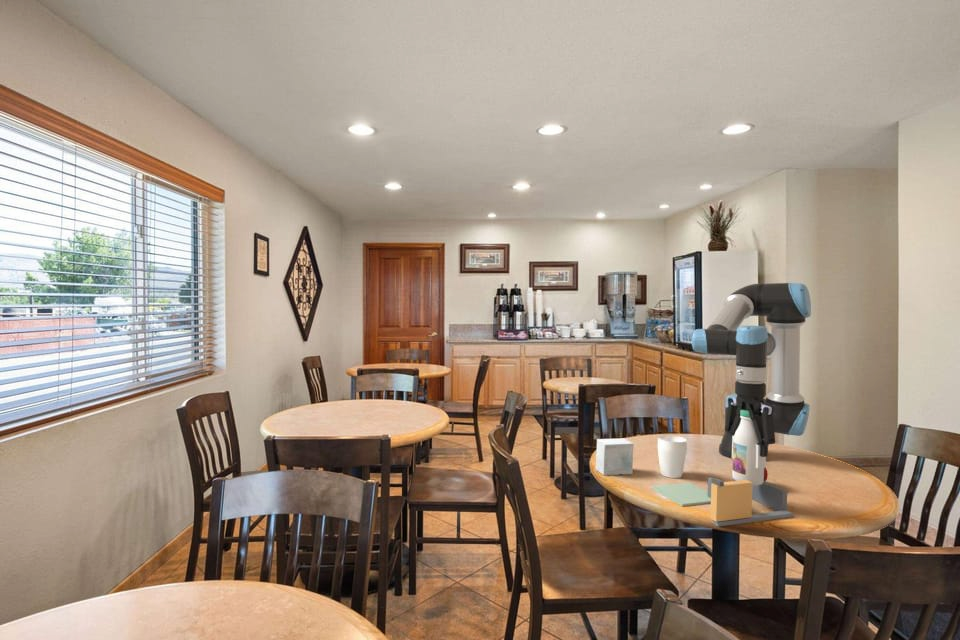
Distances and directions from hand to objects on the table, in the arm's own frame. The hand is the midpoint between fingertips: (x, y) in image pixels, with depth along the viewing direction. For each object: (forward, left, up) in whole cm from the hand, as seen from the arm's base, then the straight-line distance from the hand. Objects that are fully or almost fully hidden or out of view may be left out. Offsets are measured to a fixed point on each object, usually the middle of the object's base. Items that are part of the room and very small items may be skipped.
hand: (748, 462), depth 138 cm
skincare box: (+21, -34, -12) cm, 42 cm away
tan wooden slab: (+13, +8, -11) cm, 19 cm away
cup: (+4, -27, -12) cm, 30 cm away
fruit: (-14, -13, -12) cm, 22 cm away
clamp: (+6, +1, -12) cm, 13 cm away
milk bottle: (0, 0, -5) cm, 5 cm away
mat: (+11, -11, -12) cm, 20 cm away
